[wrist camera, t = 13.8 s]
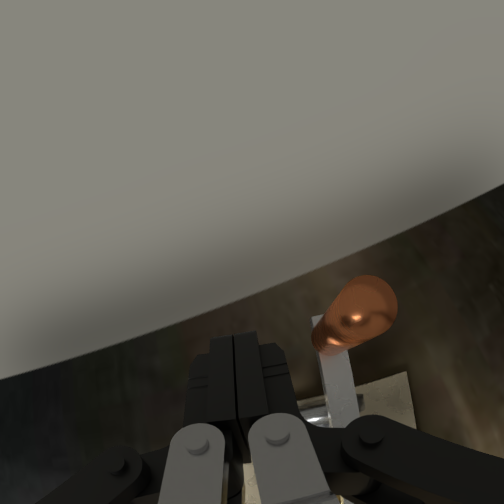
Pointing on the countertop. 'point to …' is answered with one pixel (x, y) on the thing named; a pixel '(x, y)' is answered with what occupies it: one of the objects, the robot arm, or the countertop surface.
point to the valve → (369, 402)
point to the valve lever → (349, 341)
